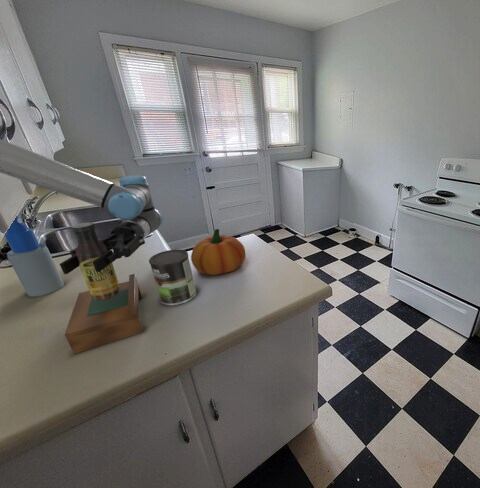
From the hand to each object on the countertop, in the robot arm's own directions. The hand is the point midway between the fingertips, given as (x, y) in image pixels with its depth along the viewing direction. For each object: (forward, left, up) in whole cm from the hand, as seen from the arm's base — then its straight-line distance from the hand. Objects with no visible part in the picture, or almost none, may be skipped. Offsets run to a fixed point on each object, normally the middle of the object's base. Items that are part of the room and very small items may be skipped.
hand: (80, 267), depth 63 cm
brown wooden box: (+1, +5, -19) cm, 20 cm away
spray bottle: (-19, +37, -19) cm, 45 cm away
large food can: (+18, +8, -19) cm, 28 cm away
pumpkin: (+34, +21, -19) cm, 44 cm away
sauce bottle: (+2, +5, -11) cm, 12 cm away
